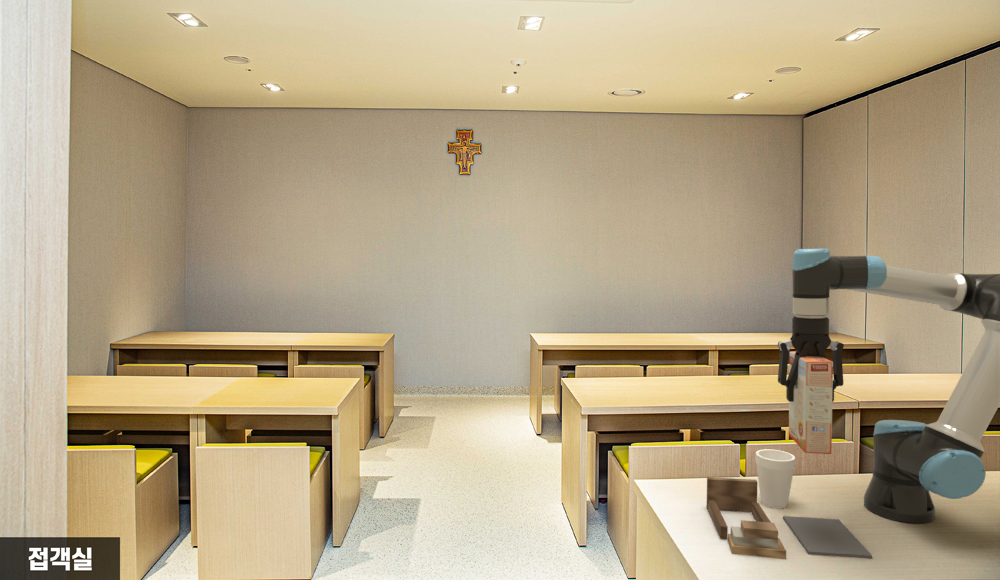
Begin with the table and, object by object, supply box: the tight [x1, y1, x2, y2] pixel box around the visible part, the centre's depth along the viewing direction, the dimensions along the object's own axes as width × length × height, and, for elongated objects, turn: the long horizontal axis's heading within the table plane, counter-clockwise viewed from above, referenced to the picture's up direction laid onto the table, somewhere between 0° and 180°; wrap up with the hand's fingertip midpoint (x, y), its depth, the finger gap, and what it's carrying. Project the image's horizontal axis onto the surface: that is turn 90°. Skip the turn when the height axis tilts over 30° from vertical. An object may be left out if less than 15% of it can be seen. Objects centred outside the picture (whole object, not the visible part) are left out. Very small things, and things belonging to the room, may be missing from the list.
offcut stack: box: [727, 519, 787, 560], centre depth 134 cm, size 11×6×6 cm, turn 77°
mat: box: [782, 515, 874, 559], centre depth 140 cm, size 13×18×1 cm
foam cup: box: [755, 448, 796, 510], centre depth 158 cm, size 10×9×13 cm
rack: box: [706, 476, 772, 540], centre depth 147 cm, size 12×18×8 cm
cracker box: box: [788, 350, 834, 455], centre depth 139 cm, size 14×6×21 cm, turn 168°
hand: (809, 415), depth 140 cm, fingers closed on cracker box, 6 cm apart
